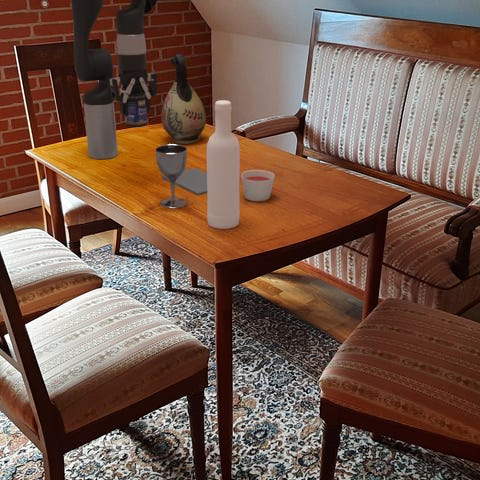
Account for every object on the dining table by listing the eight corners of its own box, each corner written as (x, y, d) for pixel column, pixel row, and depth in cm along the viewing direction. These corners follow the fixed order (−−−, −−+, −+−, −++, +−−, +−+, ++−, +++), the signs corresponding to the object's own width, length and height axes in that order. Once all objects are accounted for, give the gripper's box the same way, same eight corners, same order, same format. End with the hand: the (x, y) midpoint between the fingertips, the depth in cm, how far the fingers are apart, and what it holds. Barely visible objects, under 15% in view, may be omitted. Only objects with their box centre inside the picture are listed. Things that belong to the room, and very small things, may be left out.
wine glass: (176, 211, 160) (174, 155, 154) (152, 204, 164) (149, 149, 158) (194, 201, 166) (193, 147, 160) (170, 195, 170) (168, 142, 164)
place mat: (161, 177, 183) (161, 175, 183) (195, 169, 190) (195, 167, 190) (197, 195, 171) (197, 193, 170) (232, 185, 177) (232, 183, 177)
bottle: (237, 216, 158) (238, 97, 145) (241, 228, 151) (242, 105, 138) (206, 217, 157) (204, 98, 144) (208, 230, 150) (206, 106, 137)
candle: (234, 195, 171) (234, 174, 168) (259, 189, 176) (260, 167, 173) (254, 206, 164) (255, 183, 161) (280, 198, 169) (281, 176, 166)
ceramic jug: (159, 135, 223) (155, 49, 210) (201, 133, 227) (200, 48, 214) (165, 149, 208) (161, 57, 195) (211, 146, 212) (210, 56, 199)
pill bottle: (142, 128, 170) (140, 87, 165) (121, 127, 171) (118, 86, 167) (150, 122, 176) (148, 83, 171) (130, 121, 177) (127, 82, 172)
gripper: (147, 47, 172) (150, 107, 179) (100, 52, 163) (105, 115, 171) (162, 50, 166) (165, 112, 174) (114, 55, 158) (119, 120, 165)
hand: (135, 113), depth 172 cm, fingers closed on pill bottle, 6 cm apart
